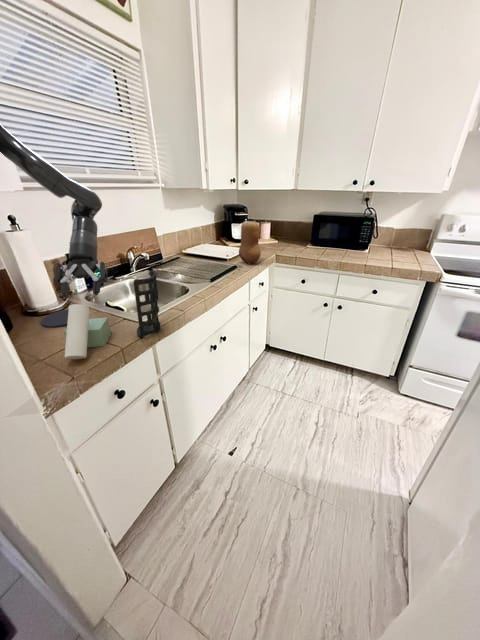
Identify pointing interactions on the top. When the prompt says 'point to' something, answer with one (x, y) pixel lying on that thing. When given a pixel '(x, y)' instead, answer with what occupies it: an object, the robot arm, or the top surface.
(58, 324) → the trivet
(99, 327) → the leaning block
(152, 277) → the holder
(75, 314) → the gray elongated block
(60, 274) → the robot arm
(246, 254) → the butternut squash
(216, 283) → the top surface
